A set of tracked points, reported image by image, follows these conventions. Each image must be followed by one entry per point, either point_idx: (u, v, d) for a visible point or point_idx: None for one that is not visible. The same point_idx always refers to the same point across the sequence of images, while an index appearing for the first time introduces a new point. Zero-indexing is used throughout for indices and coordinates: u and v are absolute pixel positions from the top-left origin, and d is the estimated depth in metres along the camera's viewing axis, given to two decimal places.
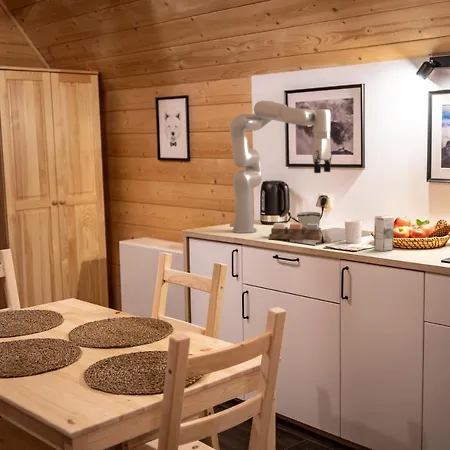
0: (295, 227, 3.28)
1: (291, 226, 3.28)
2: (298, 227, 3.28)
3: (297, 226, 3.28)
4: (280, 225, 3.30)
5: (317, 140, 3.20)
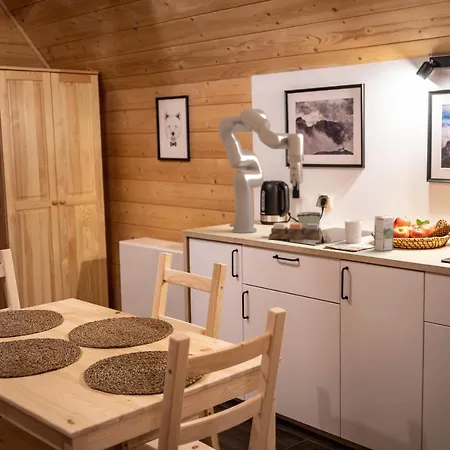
0: (295, 227, 3.28)
1: (291, 226, 3.28)
2: (298, 227, 3.28)
3: (297, 226, 3.28)
4: (280, 225, 3.30)
5: None
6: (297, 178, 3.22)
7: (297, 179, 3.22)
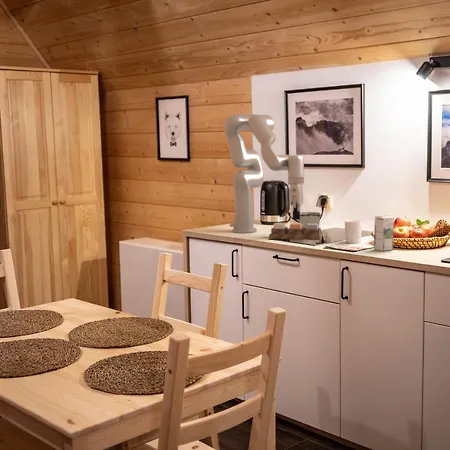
0: (295, 227, 3.28)
1: (291, 226, 3.28)
2: (298, 227, 3.28)
3: (297, 226, 3.28)
4: (280, 225, 3.30)
5: None
6: (297, 200, 3.23)
7: (297, 201, 3.23)
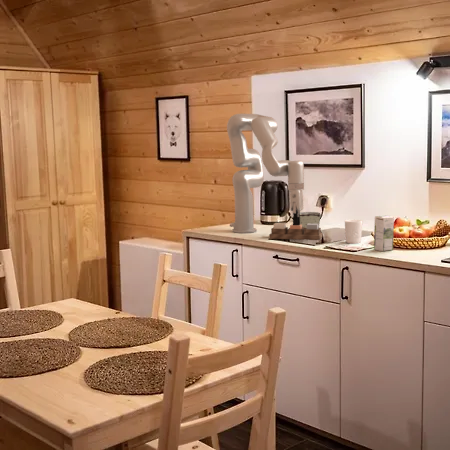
0: (295, 228, 3.28)
1: (291, 227, 3.29)
2: (298, 228, 3.28)
3: (297, 227, 3.28)
4: (280, 225, 3.30)
5: None
6: (297, 205, 3.24)
7: (297, 206, 3.24)
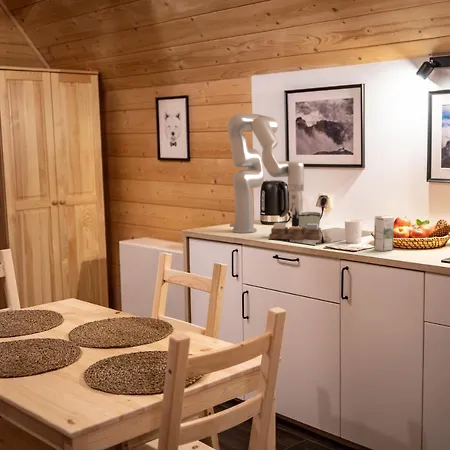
0: None
1: None
2: None
3: None
4: (280, 225, 3.30)
5: None
6: (297, 207, 3.24)
7: (297, 208, 3.24)
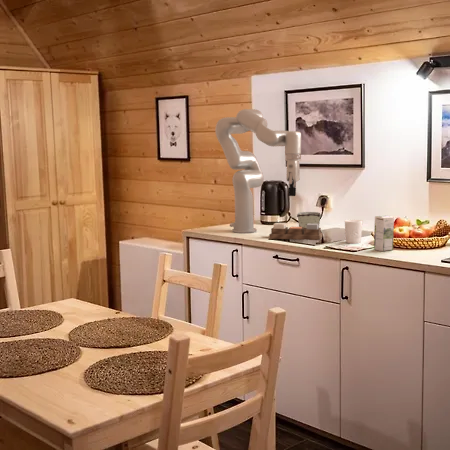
0: None
1: None
2: None
3: None
4: (280, 225, 3.30)
5: None
6: (294, 176, 3.24)
7: (294, 177, 3.24)
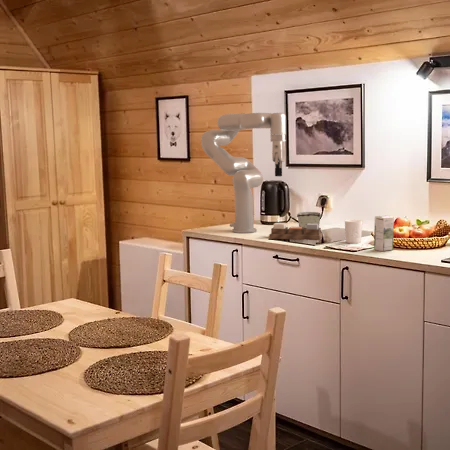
0: None
1: None
2: None
3: None
4: (280, 225, 3.30)
5: None
6: (279, 156, 3.31)
7: (279, 157, 3.31)
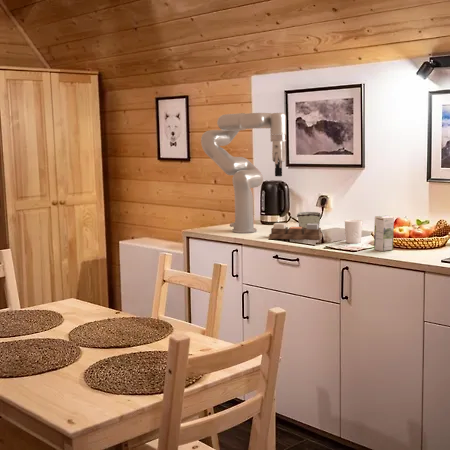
0: None
1: None
2: None
3: None
4: (280, 225, 3.30)
5: None
6: (279, 156, 3.31)
7: (279, 157, 3.31)
